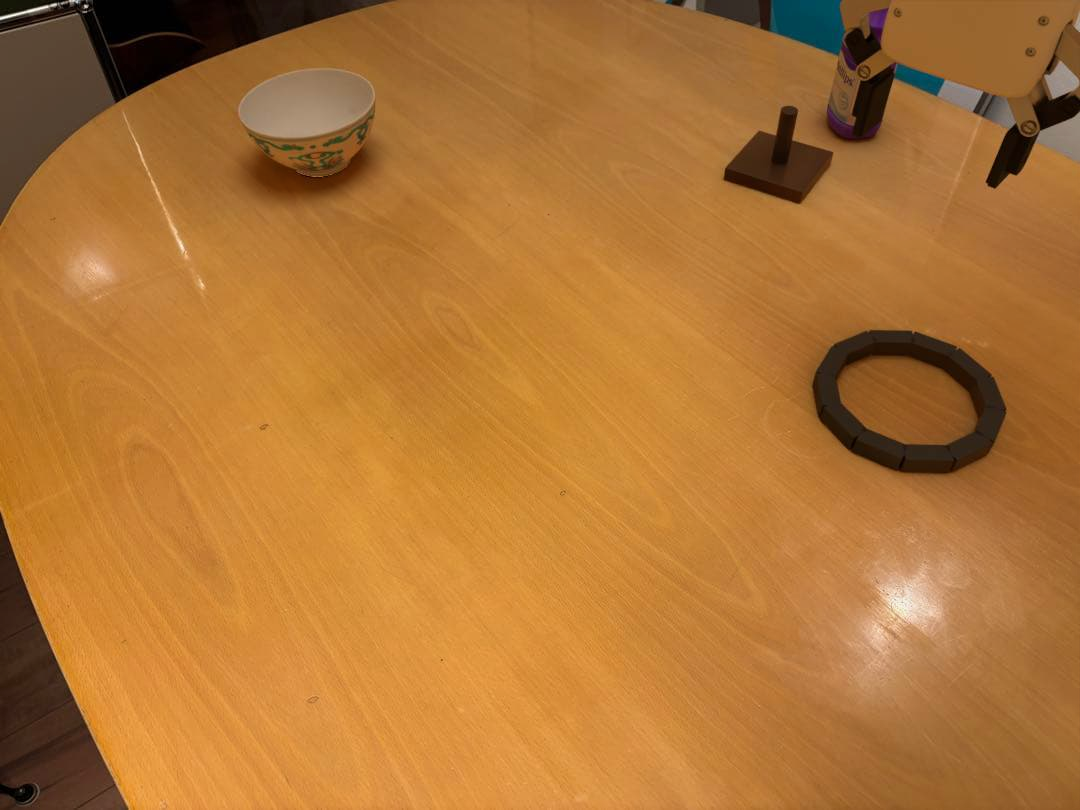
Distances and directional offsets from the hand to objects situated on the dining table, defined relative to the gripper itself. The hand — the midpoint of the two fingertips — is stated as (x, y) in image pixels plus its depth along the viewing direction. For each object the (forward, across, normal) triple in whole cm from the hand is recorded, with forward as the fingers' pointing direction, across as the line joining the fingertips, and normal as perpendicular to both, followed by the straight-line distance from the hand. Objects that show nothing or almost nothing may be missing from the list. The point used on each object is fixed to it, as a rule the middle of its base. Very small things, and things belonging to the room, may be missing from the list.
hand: (929, 152), depth 60 cm
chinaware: (+23, +64, +8) cm, 68 cm away
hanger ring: (+22, -5, 0) cm, 22 cm away
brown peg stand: (+22, +22, -23) cm, 38 cm away
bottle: (+22, +20, -36) cm, 47 cm away
